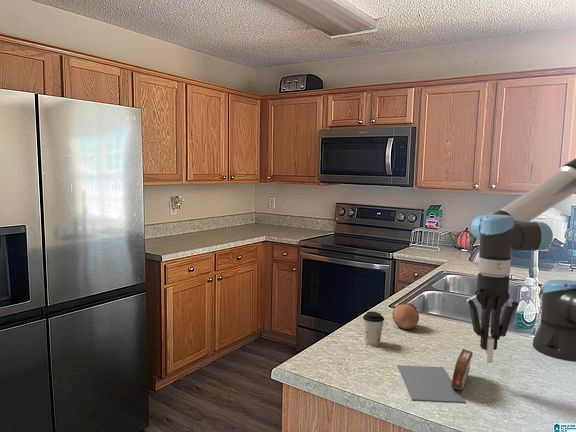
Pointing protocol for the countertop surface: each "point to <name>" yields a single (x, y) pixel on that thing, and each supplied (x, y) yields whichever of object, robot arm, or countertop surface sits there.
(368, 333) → the coffee cup
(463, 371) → the tin
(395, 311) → the onion
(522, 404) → the countertop surface
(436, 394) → the mat
